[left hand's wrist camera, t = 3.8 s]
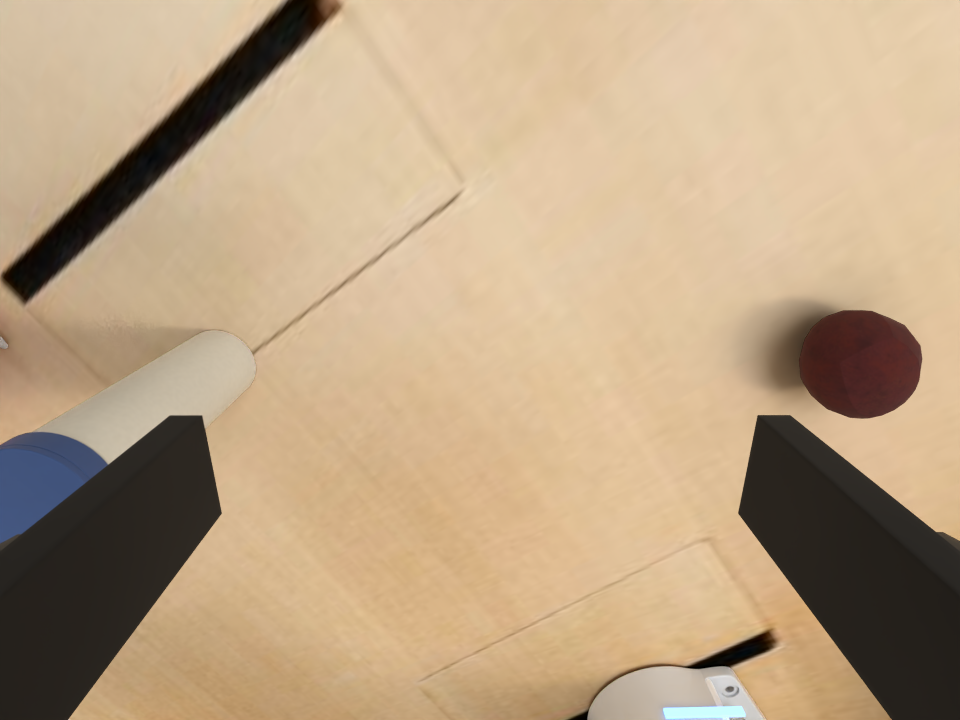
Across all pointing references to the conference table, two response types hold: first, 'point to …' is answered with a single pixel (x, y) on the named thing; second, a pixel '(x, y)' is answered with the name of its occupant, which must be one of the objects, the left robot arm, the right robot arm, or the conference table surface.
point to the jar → (161, 394)
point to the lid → (40, 477)
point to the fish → (3, 343)
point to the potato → (860, 363)
